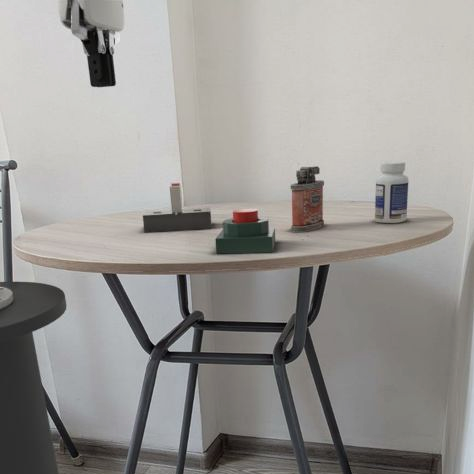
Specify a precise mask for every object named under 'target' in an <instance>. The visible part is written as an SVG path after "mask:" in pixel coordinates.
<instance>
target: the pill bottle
mask: <svg viewBox="0 0 474 474" xmlns="http://www.w3.org/2000/svg"><path fill="white" fill-rule="evenodd" d="M379 170H380V173H381V175H379V176H378V177H377V178H376V180H375V199H374V201H375V203H374V221H375V222H376V223H381V224H397V223H403V222H405V221H406V220H407V219H408V217H407V215H408V200H409V199H408V198H409V197H408V196H409V177H408V176H407V175H405V174H404V172H405V171H406V162H405V161H391V162H381V163H380V169H379Z"/></svg>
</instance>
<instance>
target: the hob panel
mask: <svg viewBox="0 0 474 474" xmlns="http://www.w3.org/2000/svg"><path fill="white" fill-rule="evenodd" d="M211 209H212V208H211V207H195V208H183V210H182V212H179V213H172V209H158V210H157V209H156V210H146V211H145V212H144V213H143V214H142V223H143V232H144V233H159V232H160V233H162V232H177V231H192V230H193V231H194V230H196V231H197V230H210V229H212V212H211V211H212V210H211Z"/></svg>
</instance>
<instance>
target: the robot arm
mask: <svg viewBox="0 0 474 474" xmlns="http://www.w3.org/2000/svg"><path fill="white" fill-rule="evenodd" d="M56 2H57V9H58V16H59V21H60V23H61V25H63V27H65V28H66V29H68V30H70V31H71V34H72V35H73V36H74V37H76V38H77V39H79V40H80V41H81V43H82V49H83V53H84V54H85V56H86V59H87V67H88V75H89V84H90V87H92V88H107V87H116V85H117V81H116V72H115V64H114V55H115V45H117V44H120V43H121V40H122V39H121V35H120V32H122V31H123V30H124V29H125V24H126V23H125V20H126V19H125V7H124V0H57V1H56ZM13 300H14V299H13V293H12V291H11V290H10V289H7V288H4V287H0V310H1V309H3V308H5V307H7V306H8V305H10V304H11V303H12V302H13Z"/></svg>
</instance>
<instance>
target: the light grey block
mask: <svg viewBox="0 0 474 474" xmlns="http://www.w3.org/2000/svg"><path fill="white" fill-rule="evenodd" d="M169 197H170V208H171V209H170V210H172V213H179V212H182V210H183V209H184V205H183V194H182V184H181V183H180V182H172V183H170V185H169Z"/></svg>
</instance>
